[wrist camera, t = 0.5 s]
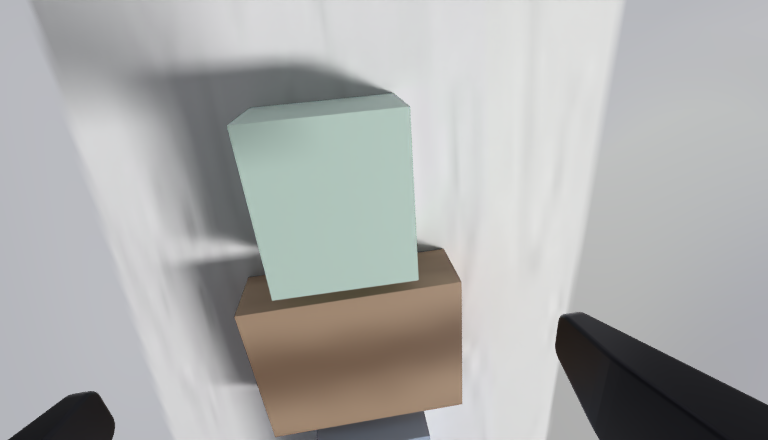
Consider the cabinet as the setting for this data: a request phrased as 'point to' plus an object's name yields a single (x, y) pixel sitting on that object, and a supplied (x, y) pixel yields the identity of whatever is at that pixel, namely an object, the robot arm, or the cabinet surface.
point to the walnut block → (356, 349)
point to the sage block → (330, 192)
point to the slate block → (381, 429)
